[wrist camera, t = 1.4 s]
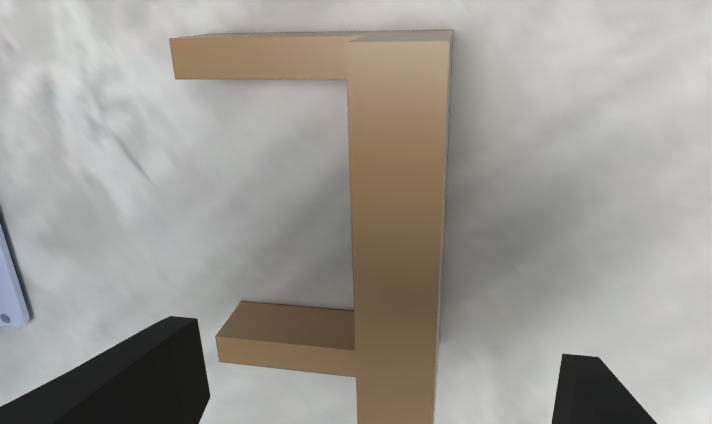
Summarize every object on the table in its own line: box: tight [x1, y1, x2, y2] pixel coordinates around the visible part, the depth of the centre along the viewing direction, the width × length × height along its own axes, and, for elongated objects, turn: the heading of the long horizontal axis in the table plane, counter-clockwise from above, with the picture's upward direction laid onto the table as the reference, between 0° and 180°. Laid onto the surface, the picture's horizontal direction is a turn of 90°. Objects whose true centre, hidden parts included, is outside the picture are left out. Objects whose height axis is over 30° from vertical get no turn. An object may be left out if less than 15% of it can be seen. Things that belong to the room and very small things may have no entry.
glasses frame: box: [169, 30, 453, 424], centre depth 17 cm, size 8×12×5 cm
